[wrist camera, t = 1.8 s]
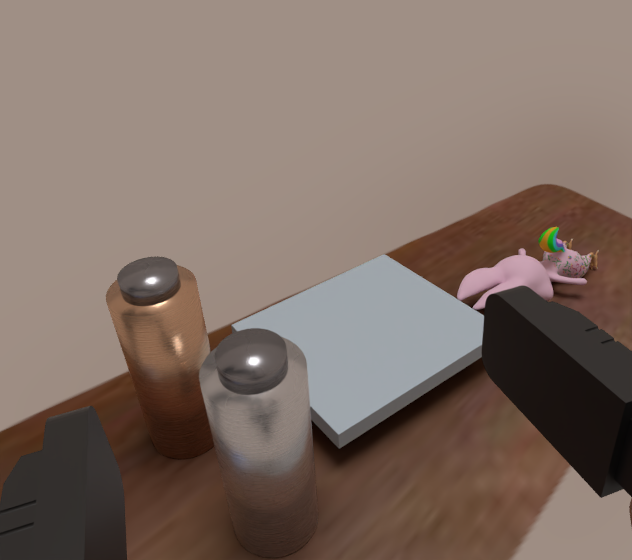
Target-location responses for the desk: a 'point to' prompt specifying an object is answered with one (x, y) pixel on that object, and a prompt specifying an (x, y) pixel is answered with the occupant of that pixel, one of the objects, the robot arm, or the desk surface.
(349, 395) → the grey square platform
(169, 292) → the copper canister
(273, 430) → the steel canister
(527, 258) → the rabbit figure
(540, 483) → the desk surface
